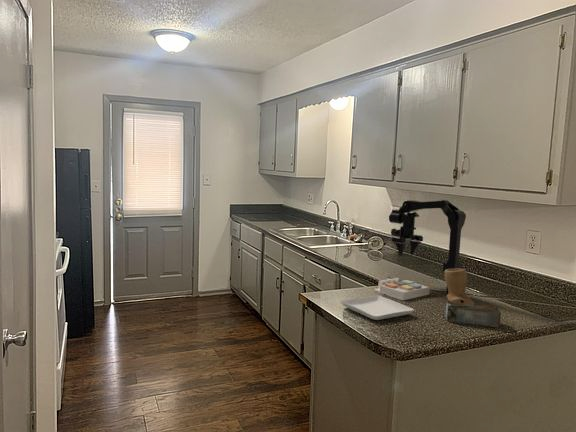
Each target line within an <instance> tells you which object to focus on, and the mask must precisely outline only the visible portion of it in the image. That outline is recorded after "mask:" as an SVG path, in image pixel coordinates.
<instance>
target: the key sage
mask: <svg viewBox="0 0 576 432" xmlns="http://www.w3.org/2000/svg"><path fill="white" fill-rule="evenodd" d="M400 282H404V283H407V285H408V284H413V283H416V282H415V281H412V280H408V279H406V280H405V279H403V280H401V281H400Z"/></svg>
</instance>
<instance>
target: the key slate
mask: <svg viewBox="0 0 576 432" xmlns="http://www.w3.org/2000/svg"><path fill="white" fill-rule="evenodd" d="M418 284H419V283H416V284H414V283H413V284H408V286H412V287H414V289H419V288H421V287H422V286H421V285H422V284H420V285H418Z"/></svg>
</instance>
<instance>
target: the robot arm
mask: <svg viewBox="0 0 576 432" xmlns="http://www.w3.org/2000/svg"><path fill="white" fill-rule="evenodd" d="M427 209H428V210H429V209H440V210H441V211H442V213H443V214H444V215H445V216H446V217H447V223H448V224H447V225H448V226H449V229H450V231H449V242H448V246H449V247H448V258H447V261H445V262H443V263H442V265H443V266H442V267H443V269H442V272H443V273H444V272H445V270H446V269H462V265H461V262H460V249H461V239H462V238H461V237H462V230H463V227H464V225H465V222H466V219H467V214H466V213H465V212H464V211H463V210H460V209H459V208H458V207H457V206H455V205H454V204H452V202H450V201H449V200H448V199H442V200H441V199H440V200H429V201H428V200H427V201H421V200H409V199H408V200H407V199H406V200H404V201H403V202H402V204H401V206H400V208H399V209H398V210H397V209H392V210H391V212H390V214H389V215H388V220H389V222H390V223H392V224H399V225H401V224H402V225H401V226H400V228H399V229H396V228H391V231H390V235H391V236H392V237H391V241H390V242H392V243H393V244H395V246H396V247H397V251H398V256H399V257H403V253H404V250H405V248H406V241H408V242H409V244H410V255H411V256H413V255H414V254H415V252H416V250H417V249H418V247H419V246H420V244H421V243H422V242H423V241H424V237H423V235H421V234H415V230H417V227H416V226H415V221H416V218H419V217H420V215H419V214H418V213H417V211H421V210H427ZM443 276H444V277H445V275H444V274H443ZM447 294H449V291H448V287H447V286H446V290H445V293H444V295H446V296H447Z"/></svg>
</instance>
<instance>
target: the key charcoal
mask: <svg viewBox="0 0 576 432" xmlns="http://www.w3.org/2000/svg"><path fill="white" fill-rule="evenodd" d="M393 283H394V284H398V285H399V286H403V285H407V283H404V282H401V281H399V280H398V282H393Z"/></svg>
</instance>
